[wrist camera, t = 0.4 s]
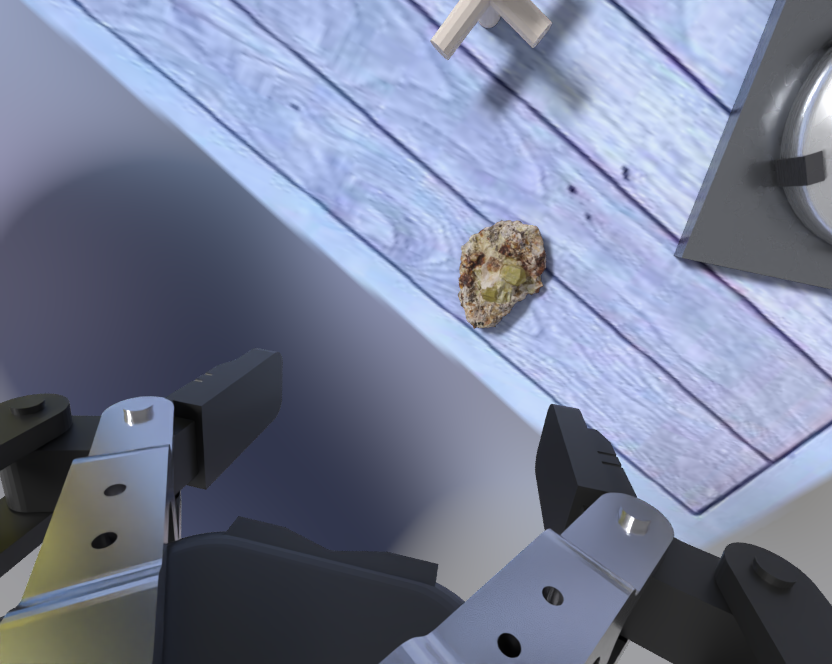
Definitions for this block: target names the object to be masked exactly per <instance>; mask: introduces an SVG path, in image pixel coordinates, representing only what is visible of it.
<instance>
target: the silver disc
mask: <svg viewBox="0 0 832 664" xmlns="http://www.w3.org/2000/svg"><path fill="white" fill-rule="evenodd" d="M827 45H828V46H829V47H830V48H829V49H828V50H827V52H826V53H825V54H824V55H823V57H822V58H821V59H820V60H819V62H818V63H817V64H816V65H815V67H814V68H813V69H812V71H811V72H810V74H809V75H808V77H807V79H806V80H805V82H804V83H803V85H802V86H801V88H800V90H799V92H798V94H797V96H796V98H795V100H794V102H793V104H792V107H791V110H790V112H789V115H788V118H787V120H786V124H785V128H784V132H783V136H782V141H781V151H780V159H777V160H774V161H775V170H776V179H777V187H783V188H784V191H785V194H786V196H787V199H788V202H789V203H790V205H791V207H792V209H793V211H794V212H795V214H796V215H797V217H798V218H799V219H800V220H801V221H802V223H803V224H804V225H805V226H806V227H807V228H808V229H809V230H811V231H812V232H813V233H814V234H815V235H816V236H818V237H820V238H821V239H823V240H824V241H826V242H828V243H830V244H832V39H831V40H830V41H829V42H828V43H827Z"/></svg>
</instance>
